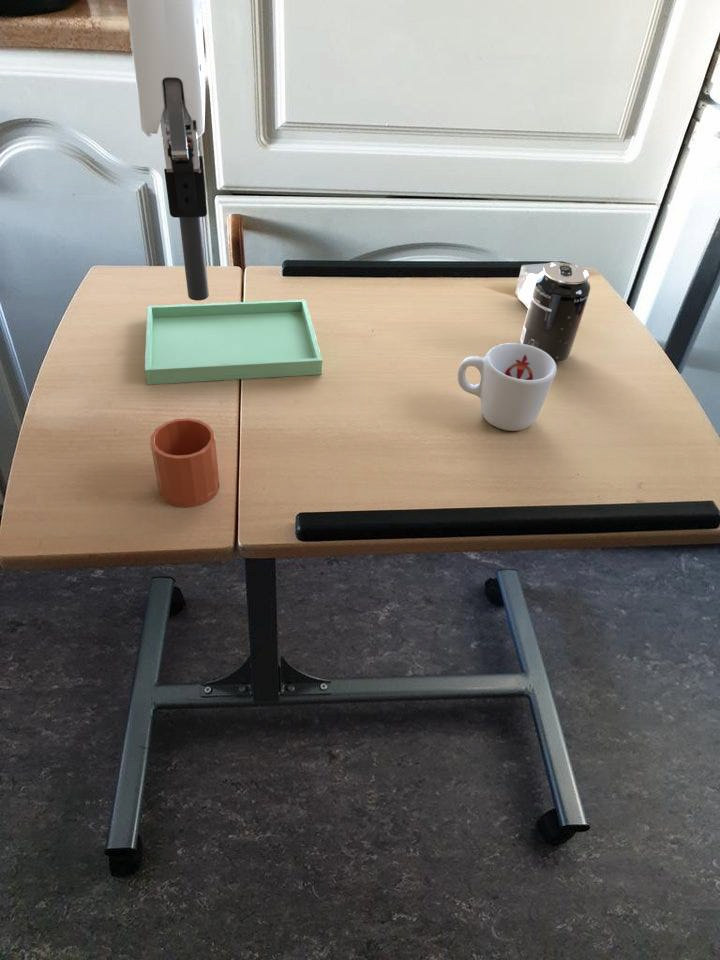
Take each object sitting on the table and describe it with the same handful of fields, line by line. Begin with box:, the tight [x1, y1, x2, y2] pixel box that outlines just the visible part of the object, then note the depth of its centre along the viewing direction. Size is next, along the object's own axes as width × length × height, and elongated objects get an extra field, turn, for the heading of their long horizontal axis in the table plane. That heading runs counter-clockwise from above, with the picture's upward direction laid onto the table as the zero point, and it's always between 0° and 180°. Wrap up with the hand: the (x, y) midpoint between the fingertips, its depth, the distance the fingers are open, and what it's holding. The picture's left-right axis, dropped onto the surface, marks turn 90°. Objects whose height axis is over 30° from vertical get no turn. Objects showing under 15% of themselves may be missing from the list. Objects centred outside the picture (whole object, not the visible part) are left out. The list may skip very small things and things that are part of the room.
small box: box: [514, 262, 549, 309], centre depth 104 cm, size 6×6×5 cm
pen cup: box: [150, 417, 220, 508], centre depth 70 cm, size 6×6×6 cm
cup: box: [457, 342, 558, 432], centre depth 82 cm, size 11×8×8 cm
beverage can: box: [519, 260, 591, 364], centre depth 91 cm, size 7×7×12 cm
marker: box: [178, 142, 210, 302], centre depth 64 cm, size 2×2×14 cm
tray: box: [144, 299, 323, 386], centre depth 91 cm, size 21×15×2 cm
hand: (188, 207), depth 63 cm, fingers closed on marker, 2 cm apart
